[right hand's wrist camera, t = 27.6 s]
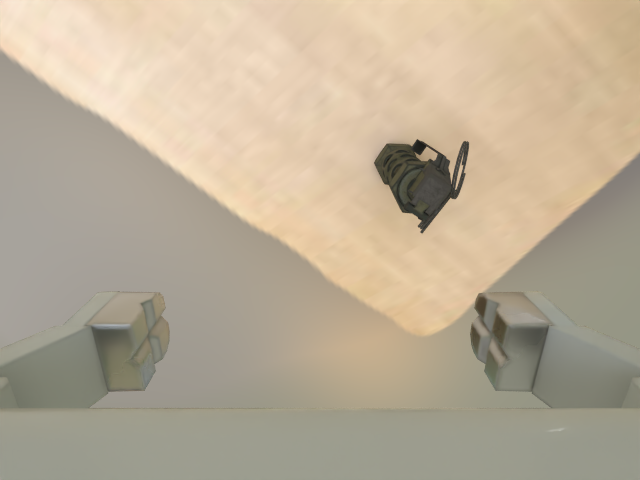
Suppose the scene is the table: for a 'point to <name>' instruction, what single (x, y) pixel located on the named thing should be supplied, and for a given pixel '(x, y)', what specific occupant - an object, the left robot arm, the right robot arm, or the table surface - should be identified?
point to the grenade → (419, 179)
